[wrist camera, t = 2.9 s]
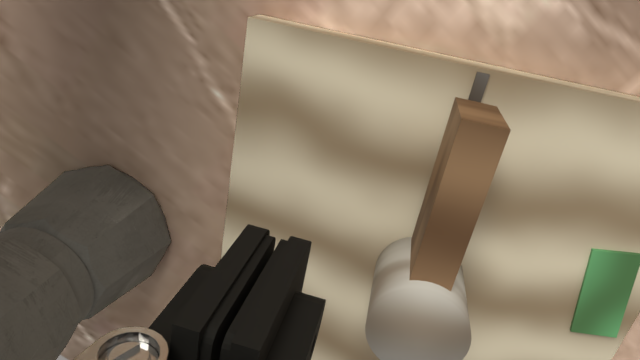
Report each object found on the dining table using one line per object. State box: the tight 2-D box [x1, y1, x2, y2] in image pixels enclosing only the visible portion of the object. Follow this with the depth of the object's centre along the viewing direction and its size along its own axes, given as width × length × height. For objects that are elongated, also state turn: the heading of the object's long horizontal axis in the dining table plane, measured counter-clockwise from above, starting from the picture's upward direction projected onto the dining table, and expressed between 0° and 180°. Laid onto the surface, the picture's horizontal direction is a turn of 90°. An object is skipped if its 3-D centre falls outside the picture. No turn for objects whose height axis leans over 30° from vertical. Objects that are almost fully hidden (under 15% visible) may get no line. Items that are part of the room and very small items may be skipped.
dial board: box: [221, 15, 640, 360], centre depth 28 cm, size 24×24×2 cm
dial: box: [365, 97, 511, 360], centre depth 23 cm, size 13×5×5 cm, turn 170°
